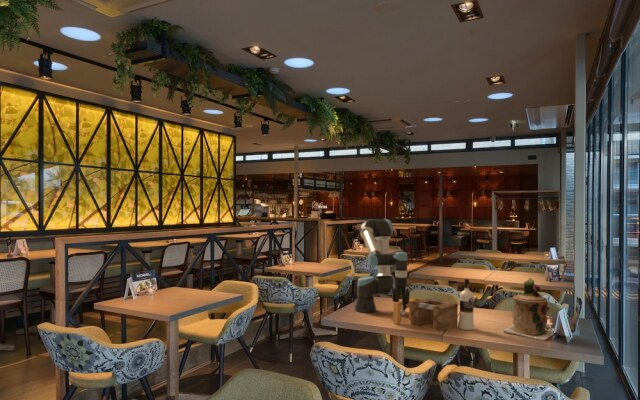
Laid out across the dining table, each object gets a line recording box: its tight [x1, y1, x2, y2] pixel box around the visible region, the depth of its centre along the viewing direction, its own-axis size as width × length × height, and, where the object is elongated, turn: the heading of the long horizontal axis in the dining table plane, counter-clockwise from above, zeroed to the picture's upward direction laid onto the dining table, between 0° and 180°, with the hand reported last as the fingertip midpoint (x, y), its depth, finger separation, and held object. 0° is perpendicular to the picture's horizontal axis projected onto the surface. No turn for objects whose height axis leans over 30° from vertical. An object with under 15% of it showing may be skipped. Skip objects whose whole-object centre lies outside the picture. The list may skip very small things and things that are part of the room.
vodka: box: [457, 278, 475, 331], centre depth 280 cm, size 9×9×30 cm
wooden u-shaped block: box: [392, 298, 416, 326], centre depth 294 cm, size 4×19×13 cm, turn 132°
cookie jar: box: [502, 277, 555, 341], centre depth 273 cm, size 25×25×32 cm
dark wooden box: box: [410, 297, 459, 333], centre depth 286 cm, size 22×18×14 cm
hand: (400, 313), depth 291 cm, fingers closed on wooden u-shaped block, 3 cm apart
